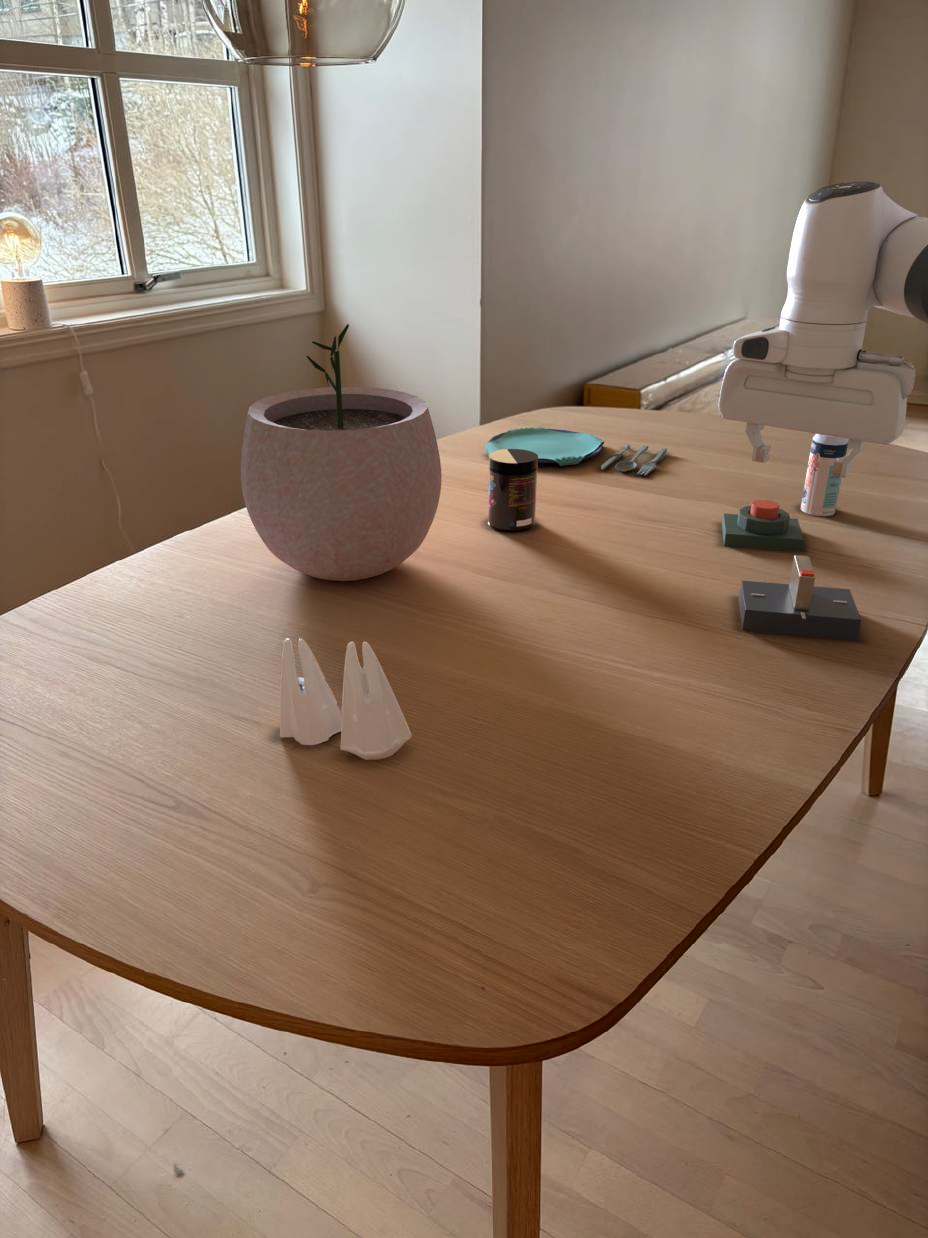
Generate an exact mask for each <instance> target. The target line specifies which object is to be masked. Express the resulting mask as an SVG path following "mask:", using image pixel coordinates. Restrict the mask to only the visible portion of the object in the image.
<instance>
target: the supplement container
mask: <svg viewBox="0 0 928 1238" xmlns="http://www.w3.org/2000/svg"><path fill="white" fill-rule="evenodd" d="M538 464H539V463H538V455H537V454H536V453H534V452H532V451H528V450H522V449H502V450H497V451H494V452H491V453H490V454H489V455H488V466H487V467H488V494H487V495H488V496H487V499H488V501H487V502H488V503H487V524H488V527H489V528H491V529H492V530H494V531H497V532H500V533H508V534H509V533H510V534H517V533H519V534H520V533H524V532H528V531H531V530H533V528H535V525H536V513H537V510H536V509H537V487H538V485H537V484H538V469H539V465H538Z"/></svg>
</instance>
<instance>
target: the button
mask: <svg viewBox="0 0 928 1238" xmlns="http://www.w3.org/2000/svg"><path fill="white" fill-rule="evenodd" d="M750 506H751V512H750V515H751V516H753V517H757V518H761V519H776V518H778V513H779V509H780V504H779V503H778V502H777V501H773V500H769V499H755V500H753V501H752V502H751V505H750Z"/></svg>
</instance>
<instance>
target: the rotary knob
mask: <svg viewBox="0 0 928 1238" xmlns="http://www.w3.org/2000/svg"><path fill="white" fill-rule="evenodd" d="M789 578H790V579H789V583H788V584H789V589H790V593H791V598H792V602H793V606H794V609H797V610H808V611H809V610H810V604H811V599H812V593H813V588H814V586H815V583H816V576H815V572H814V568H813V566H812V562H811V558H810V556H809V555H800V554H799V555H797V554H795V555H794V556H793V560H792V566H791V571H790V577H789Z"/></svg>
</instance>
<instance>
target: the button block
mask: <svg viewBox="0 0 928 1238" xmlns="http://www.w3.org/2000/svg"><path fill="white" fill-rule="evenodd" d="M750 512H751V505H745V506H744V507H742V508H740V509H739V510H738V514H737V513H723V514H722V521H721V531H722V532H721V533H722V541H723V546H724V547H733V548H734V547H736V548H749V549H759V550H760V549H761V550H762V549H763V550H774V551H785V552H799V553H802V552H803V550H804V549H803V548H804V543H805V538H804V535H803V531H802V528H801V526H800V525H801V524H800V522H799V520H798V518H793V517H791V516H790V513H789V512H787V511H786V510H784V509H782V508H779V513H778V518H776V519H761V518H757V517H753V516H751V515H750Z"/></svg>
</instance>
